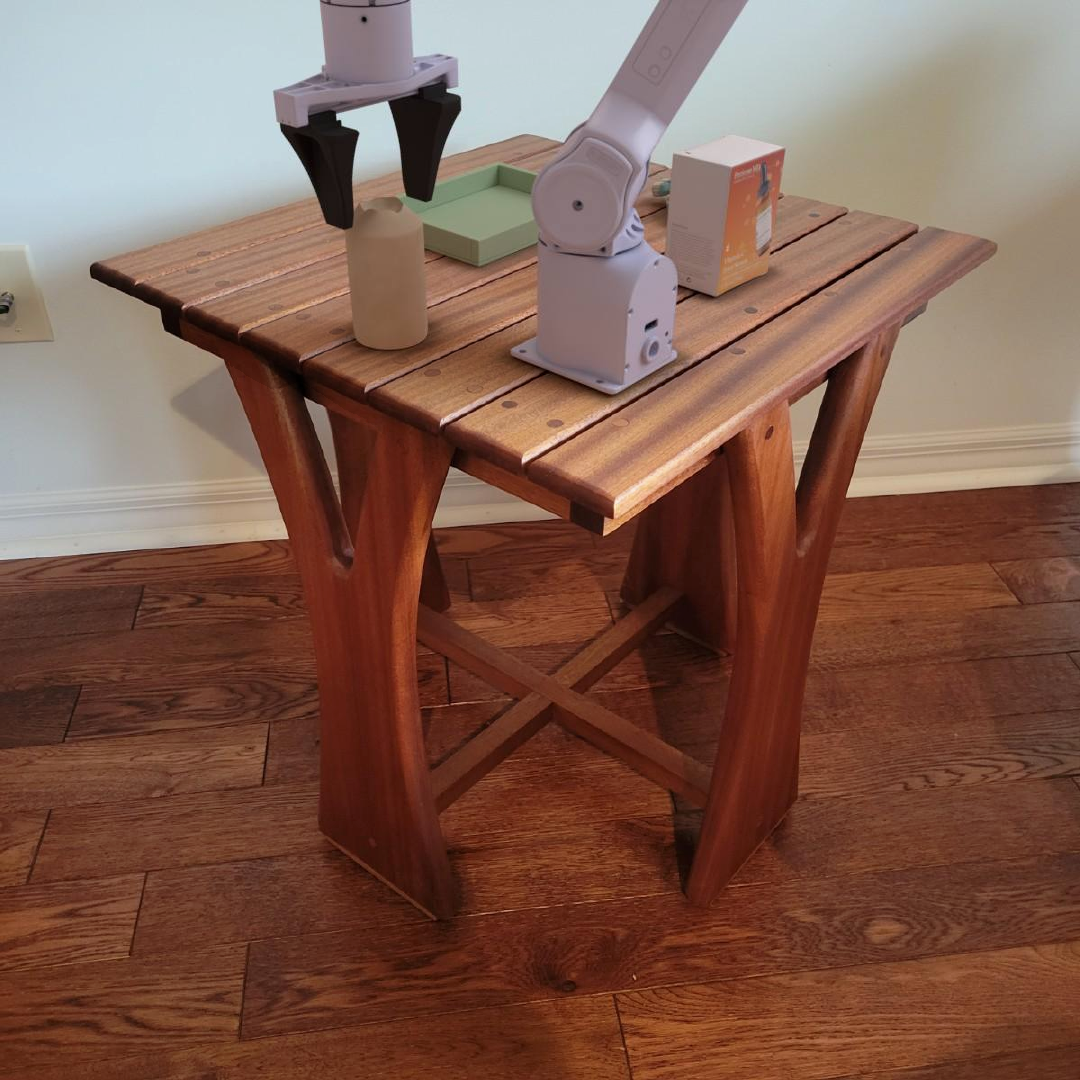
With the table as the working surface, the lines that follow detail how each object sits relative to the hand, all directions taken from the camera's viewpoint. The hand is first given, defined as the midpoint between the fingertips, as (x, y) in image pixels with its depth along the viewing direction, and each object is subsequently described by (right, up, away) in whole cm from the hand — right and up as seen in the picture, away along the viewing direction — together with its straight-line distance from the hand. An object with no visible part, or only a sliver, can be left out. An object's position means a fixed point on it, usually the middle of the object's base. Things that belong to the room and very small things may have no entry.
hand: (380, 211), depth 77 cm
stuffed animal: (+28, +8, +28) cm, 40 cm away
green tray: (+7, +7, +25) cm, 27 cm away
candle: (0, -8, +5) cm, 9 cm away
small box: (+26, -1, +15) cm, 30 cm away
